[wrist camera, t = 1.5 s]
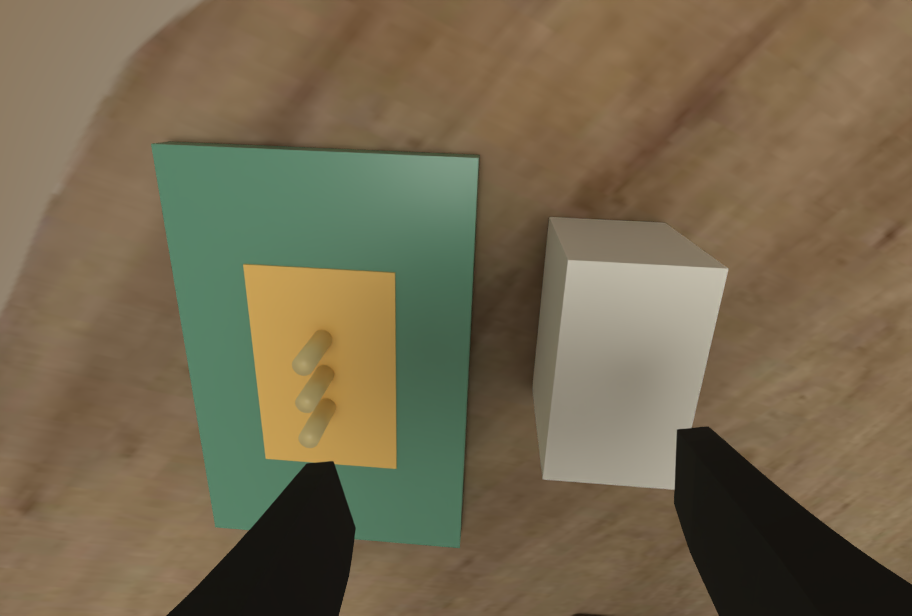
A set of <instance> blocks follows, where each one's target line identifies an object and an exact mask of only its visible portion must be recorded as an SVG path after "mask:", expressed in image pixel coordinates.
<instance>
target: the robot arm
mask: <svg viewBox="0 0 912 616" xmlns="http://www.w3.org/2000/svg"><path fill="white" fill-rule="evenodd" d="M674 505H675V508H676V511H677V514H678V517H679V520H680V524H681V527H682V530H683V533H684V536H685V539H686V542H687V545H688V547H689V550H690V553H691V555H692V558H693V560H694V562H695V564H696V567H697V569H698V571H699V573H700V575H701V578H702V580H703V582H704V584H705V586H706V588H707V591H708V593H709V595H710V597H711V599H712V602H713V604H714V606H715V608H716V610H717V612H718V614H719V616H912V584H910V583H909V582H907V581H906V580H904V579H903V578H901V577H899V576H898V575H896V574H895V573H893V572H892V571H890V570H889V569H887V568H886V567H884V566H883V565H881V564H880V563H878V562H877V561H875V560H874V559H872V558H871V557H869V556H868V555H867V554H865V553H864V552H862V551H861V550H859V549H858V548H857V547H855V546H854V545H852V544H851V543H850V542H848V541H847V540H846V539H844V538H843V537H842V536H840V535H839V534H838V533H836V532H835V531H834V530H832V529H831V528H829V527H828V526H827V525H825V524H824V523H823V522H822V521H820V520H819V519H818V518H816V517H815V516H814V515H813V514H811V513H810V512H809V511H807V510H806V509H805V508H804V507H802V506H801V505H800V504H799V503H798V502H796V501H795V500H794V499H793V498H791V497H790V496H789V495H788V494H786V493H785V492H784V491H783V490H781V489H780V488H779V487H778V486H777V485H775V484H774V483H773V482H772V481H771V480H769V479H768V478H767V477H766V476H765V475H764V474H762V473H761V472H760V471H759V470H758V469H757V468H755V467H754V466H753V465H752V464H751V463H750V462H748V461H747V460H746V459H745V458H744V457H743V456H742V455H740V454H739V453H738V452H737V451H736V450H735V449H734V448H732V447H731V446H730V445H729V444H728V443H727V442H726V441H725V440H723V439H722V438H721V437H720V436H719V435H718V434H717V433H715V432H714V431H713V430H712V429H711V428H709V427H697V428H687V429H677V438H676V465H675V491H674ZM355 531H356V527H355V524H354V521H353V518H352V515H351V512H350V509H349V506H348V503H347V500H346V497H345V494H344V491H343V488H342V485H341V482H340V479H339V476H338V473H337V470H336V467H335V464H334V461H327V462H316V463H307V464H306V465H305V466H304V467H303V468H302V469H301V470H300V471H299V473H298V474H297V475H296V476H295V477H294V478H293V480H292V481H291V482H290V483H289V484H288V486H287V487H286V488H285V489H284V490H283V491H282V493H281V494H280V495H279V496H278V497H277V499H276V500H275V501H274V502H273V503H272V504H271V506H270V507H269V508H268V509H267V510H266V511H265V513H264V514H263V515H262V516H261V517H260V518H259V520H258V521H257V522H256V523H255V524H254V525H253V526H252V528H251V529H250V530H249V531H248V532H247V533H246V534H245V535H244V537H243V538H242V539H241V540H240V541H239V542H238V543H237V544H236V546H235V547H234V548H233V549H232V550H231V551H230V552H229V553H228V554H227V555H226V556H225V557H224V558H223V559H222V560H221V561H220V562H219V564H218V565H217V566H216V567H215V568H214V569H213V570H212V571H211V572H210V573H209V574H208V575H207V576H206V577H205V578H204V579H203V580H202V581H201V583H200V584H199V585H198V586H197V587H196V588H195V589H194V590H193V591H192V592H191V593H190V594H189V595H188V596H187V597H185V598H184V599H183V600H182V601H181V602H180V603H179V604H178V605H177V606H176V607H175V608H174V609H173V610H172V611H171V612H170V613H169V614H168V615H166V616H339V612H340V608H341V604H342V601H343V597H344V593H345V589H346V585H347V581H348V578H349V572H350V566H351V560H352V553H353V546H354V538H355Z"/></svg>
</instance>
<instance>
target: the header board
mask: <svg viewBox="0 0 912 616" xmlns="http://www.w3.org/2000/svg"><path fill="white" fill-rule="evenodd" d="M151 146H152V152H153V158H154V164H155V170H156V176H157V182H158V188H159V194H160V200H161V206H162V211H163V217H164V223H165V229H166V235H167V241H168V247H169V253H170V259H171V265H172V271H173V277H174V283H175V289H176V295H177V301H178V307H179V313H180V319H181V325H182V331H183V337H184V343H185V349H186V355H187V361H188V367H189V372H190V378H191V384H192V390H193V396H194V402H195V408H196V414H197V420H198V426H199V432H200V438H201V444H202V450H203V456H204V462H205V468H206V474H207V480H208V486H209V492H210V498H211V504H212V510H213V516H214V522H215V527H219V528H231V529H243V530H250V529H251V528H252V526H253V525H254V524H255V523H256V522H257V521H258V520H259V518H260V517H261V516H262V515H263V514H264V513H265V511H266V510H267V509H268V508H269V507H270V506H271V504H272V503H273V502H274V501H275V500H276V499H277V497H278V496H279V495H280V494H281V493H282V491H283V490H284V489H285V488H286V487H287V486H288V484H289V483H290V482H291V481H292V480H293V478H294V477H295V476H296V475H297V474H298V473H299V471H300V470H301V469H302V468H303V467H304V466H305V465H306V464H307V463H316V462H327V461H334V464H335V467H336V470H337V473H338V476H339V479H340V482H341V485H342V488H343V491H344V494H345V497H346V500H347V503H348V506H349V509H350V512H351V515H352V518H353V521H354V524H355V527H356V531H355V538H354V539H360V540H371V541H383V542H395V543H407V544H418V545H430V546H442V547H453V548H460V538H461V525H462V505H463V484H464V464H465V444H466V423H467V403H468V383H469V362H470V342H471V322H472V301H473V281H474V261H475V240H476V220H477V200H478V179H479V159H480V155H471V154H448V153H425V152H402V151H378V150H355V149H332V148H309V147H285V146H262V145H239V144H216V143H193V142H162V143H154V144H151Z"/></svg>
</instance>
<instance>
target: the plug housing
mask: <svg viewBox="0 0 912 616" xmlns="http://www.w3.org/2000/svg"><path fill="white" fill-rule="evenodd" d="M727 273H728V268H727V267H726V266H724V265H723V264H721V263H720V262H719V261H717V260H716V259H715V258H713V257H712V256H710V255H709V254H708V253H706V252H705V251H704V250H702V249H701V248H699V247H698V246H697V245H695V244H694V243H693V242H691V241H690V240H688V239H687V238H686V237H684V236H683V235H682V234H680V233H679V232H677V231H676V230H675V229H673V228H672V227H671V226H669V225H668V224H666V223H662V222H642V221H622V220H602V219H581V218H561V217H549V224H548V234H547V244H546V254H545V264H544V274H543V284H542V294H541V304H540V314H539V324H538V335H537V345H536V355H535V365H534V375H533V385H532V392H533V401H534V410H535V418H536V427H537V435H538V444H539V453H540V461H541V470H542V478H543V480H556V481H569V482H582V483H595V484H608V485H621V486H634V487H647V488H659V489H672V490H675V465H676V438H677V429H687V428H692V424H693V419H694V415H695V411H696V406H697V402H698V398H699V394H700V389H701V385H702V381H703V376H704V372H705V368H706V363H707V359H708V355H709V350H710V346H711V342H712V337H713V333H714V329H715V325H716V320H717V316H718V312H719V307H720V303H721V299H722V294H723V290H724V286H725V281H726V277H727Z"/></svg>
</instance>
